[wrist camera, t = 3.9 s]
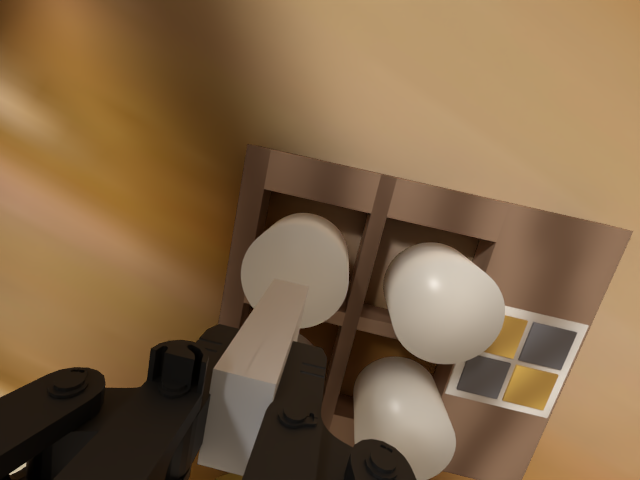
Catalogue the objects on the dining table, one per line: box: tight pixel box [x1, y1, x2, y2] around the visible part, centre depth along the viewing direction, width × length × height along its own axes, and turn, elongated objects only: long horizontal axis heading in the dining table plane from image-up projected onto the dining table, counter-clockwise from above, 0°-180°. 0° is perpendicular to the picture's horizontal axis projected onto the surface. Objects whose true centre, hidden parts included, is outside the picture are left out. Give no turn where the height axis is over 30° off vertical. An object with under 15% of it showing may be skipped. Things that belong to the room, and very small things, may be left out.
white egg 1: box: [241, 213, 349, 328], centre depth 20 cm, size 6×6×4 cm
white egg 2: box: [383, 242, 505, 364], centre depth 19 cm, size 6×6×4 cm
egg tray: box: [218, 144, 633, 480], centre depth 24 cm, size 24×20×3 cm
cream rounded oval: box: [353, 357, 456, 480], centre depth 21 cm, size 6×6×4 cm
